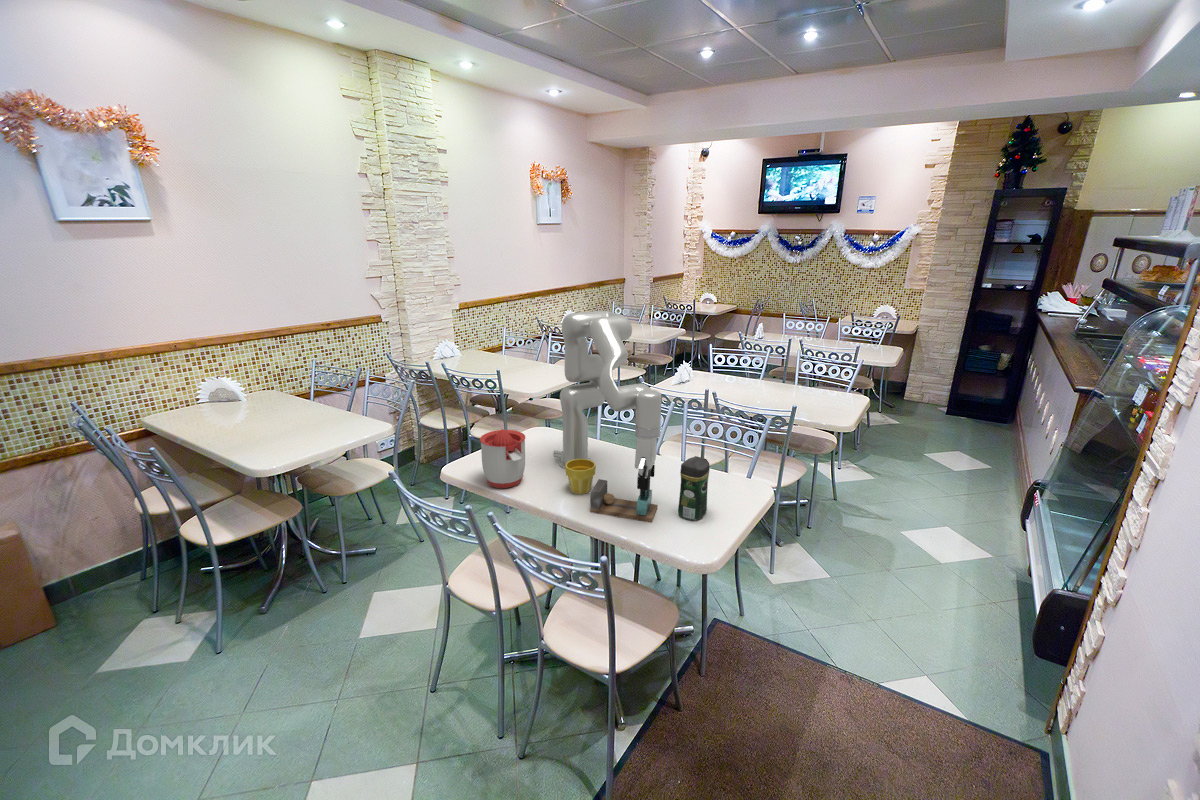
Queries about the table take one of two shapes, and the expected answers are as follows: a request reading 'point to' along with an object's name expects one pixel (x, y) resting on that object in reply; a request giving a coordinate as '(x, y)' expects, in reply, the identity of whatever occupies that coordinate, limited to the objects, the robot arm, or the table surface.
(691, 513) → the coffee jar
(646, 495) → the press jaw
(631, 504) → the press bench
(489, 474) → the citrus juicer
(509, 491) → the table surface
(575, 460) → the plant pot
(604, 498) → the walnut
